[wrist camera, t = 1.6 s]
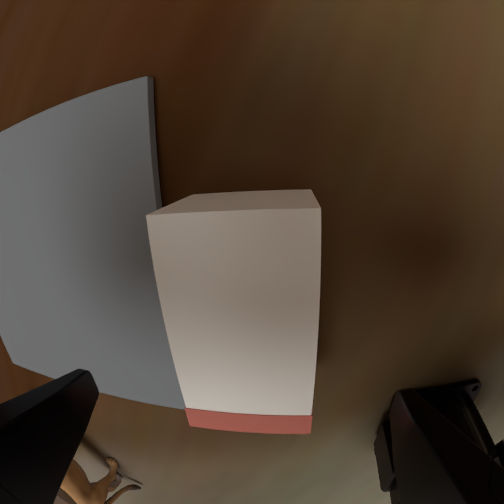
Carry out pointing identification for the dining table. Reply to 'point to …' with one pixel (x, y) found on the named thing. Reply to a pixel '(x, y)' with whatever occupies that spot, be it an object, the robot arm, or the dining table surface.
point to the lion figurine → (93, 485)
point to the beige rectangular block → (241, 305)
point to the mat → (85, 244)
